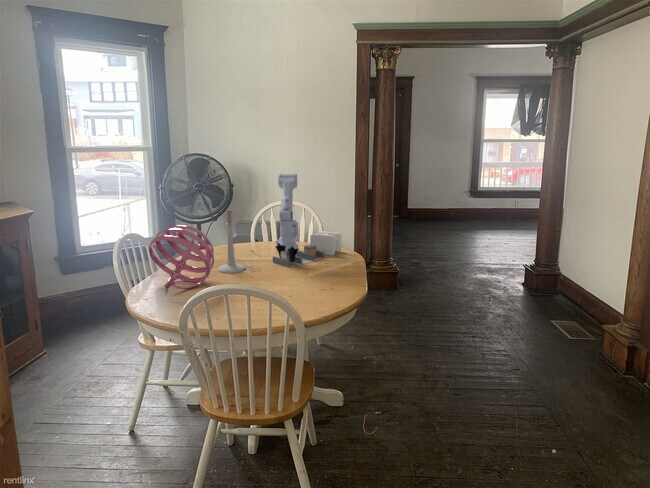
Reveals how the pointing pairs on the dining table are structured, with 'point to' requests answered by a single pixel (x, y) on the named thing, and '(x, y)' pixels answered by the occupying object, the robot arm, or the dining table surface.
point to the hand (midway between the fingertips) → (287, 260)
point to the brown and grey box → (310, 250)
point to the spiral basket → (184, 254)
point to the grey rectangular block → (285, 255)
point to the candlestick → (230, 251)
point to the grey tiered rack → (299, 259)
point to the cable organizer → (326, 242)
